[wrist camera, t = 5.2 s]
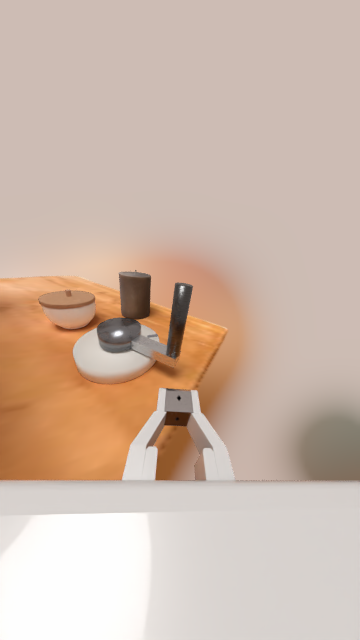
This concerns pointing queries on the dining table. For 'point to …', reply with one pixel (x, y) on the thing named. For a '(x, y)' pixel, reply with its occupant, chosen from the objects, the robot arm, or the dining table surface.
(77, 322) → the lidded jar
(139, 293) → the pillar candle
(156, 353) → the saucepan with upright handle
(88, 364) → the light grey round disc
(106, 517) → the robot arm
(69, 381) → the dining table surface
